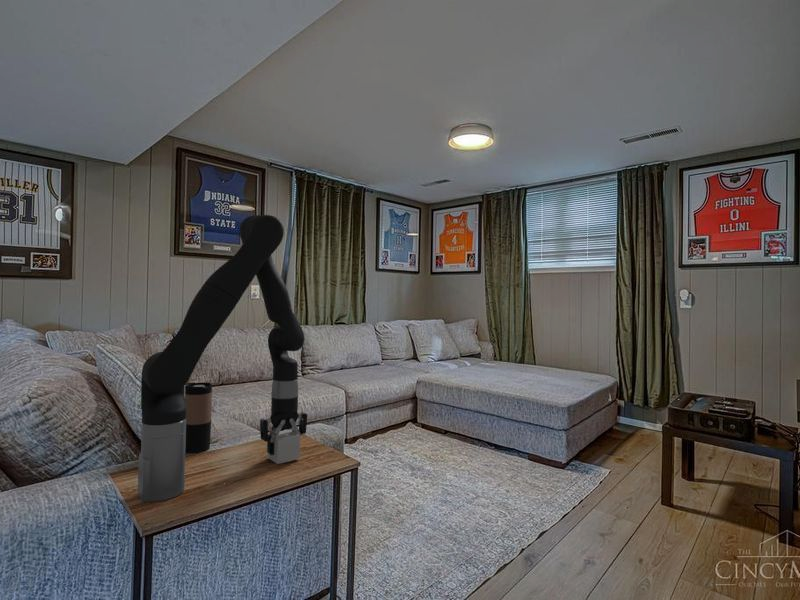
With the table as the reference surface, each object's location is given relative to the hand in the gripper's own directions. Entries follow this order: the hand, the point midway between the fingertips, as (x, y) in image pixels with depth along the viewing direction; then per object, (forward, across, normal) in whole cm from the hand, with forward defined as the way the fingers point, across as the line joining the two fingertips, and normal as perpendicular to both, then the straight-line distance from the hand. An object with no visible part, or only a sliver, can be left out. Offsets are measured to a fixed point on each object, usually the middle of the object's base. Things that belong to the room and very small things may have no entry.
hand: (283, 451), depth 123 cm
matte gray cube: (+2, 0, 0) cm, 2 cm away
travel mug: (+2, -17, +24) cm, 30 cm away
